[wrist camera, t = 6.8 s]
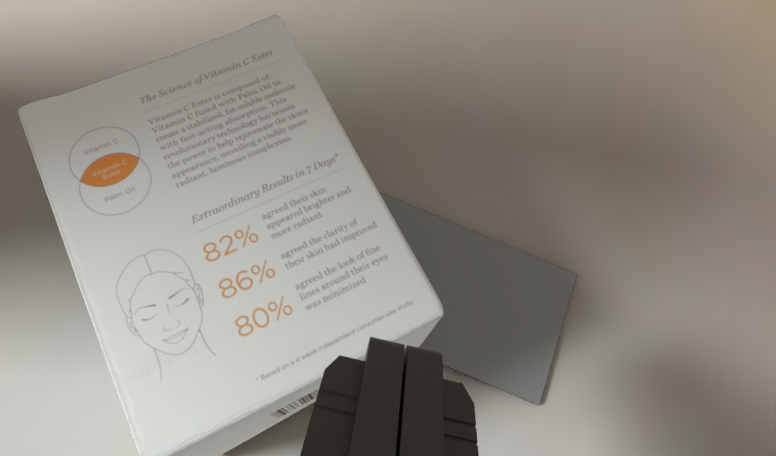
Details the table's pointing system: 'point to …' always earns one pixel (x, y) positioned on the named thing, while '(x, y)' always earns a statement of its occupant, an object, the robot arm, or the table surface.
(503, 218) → the table surface
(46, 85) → the table surface
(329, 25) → the table surface
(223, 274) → the small box
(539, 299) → the charcoal mat
